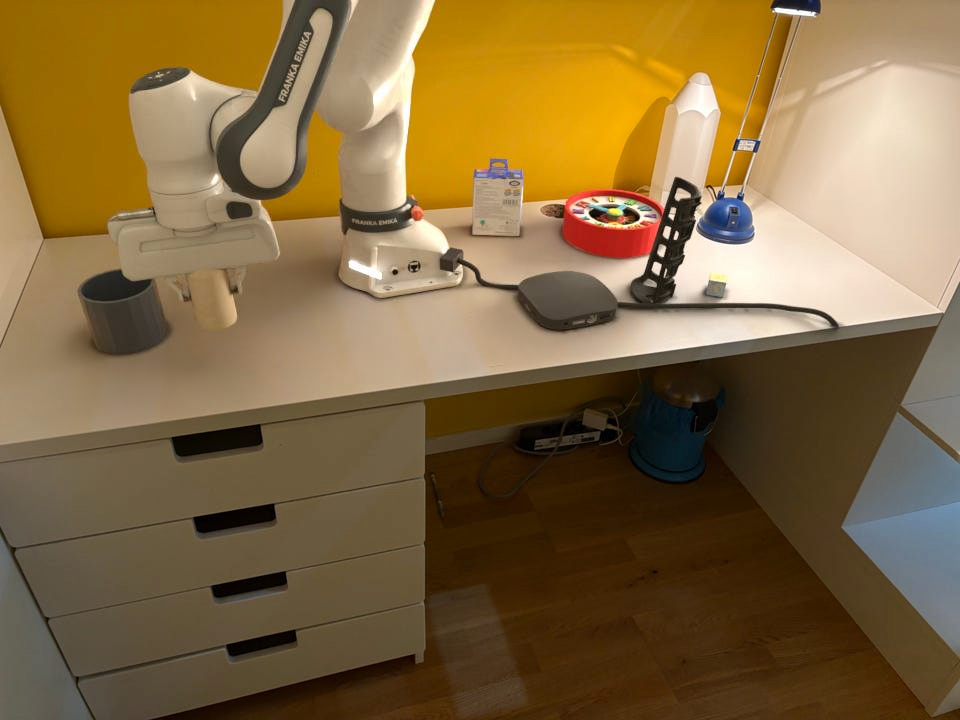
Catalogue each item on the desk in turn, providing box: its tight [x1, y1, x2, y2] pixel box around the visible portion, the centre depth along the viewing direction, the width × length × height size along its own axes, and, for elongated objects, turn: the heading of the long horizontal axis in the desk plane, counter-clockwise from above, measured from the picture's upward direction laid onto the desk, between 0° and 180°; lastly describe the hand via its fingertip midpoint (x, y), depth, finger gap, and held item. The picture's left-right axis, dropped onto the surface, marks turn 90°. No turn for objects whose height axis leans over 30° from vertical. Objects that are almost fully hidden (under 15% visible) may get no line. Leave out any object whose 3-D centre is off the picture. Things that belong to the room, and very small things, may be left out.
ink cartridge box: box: [471, 158, 524, 237], centre depth 145 cm, size 10×6×14 cm, turn 89°
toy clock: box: [561, 188, 665, 259], centre depth 147 cm, size 20×6×20 cm
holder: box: [629, 176, 703, 304], centre depth 124 cm, size 11×8×20 cm
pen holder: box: [77, 268, 168, 355], centre depth 111 cm, size 11×11×9 cm
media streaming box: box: [517, 270, 619, 331], centre depth 124 cm, size 15×15×3 cm
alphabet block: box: [705, 272, 729, 298], centre depth 129 cm, size 3×3×3 cm
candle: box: [184, 268, 238, 331], centre depth 101 cm, size 6×6×10 cm
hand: (212, 296), depth 102 cm, fingers closed on candle, 5 cm apart
